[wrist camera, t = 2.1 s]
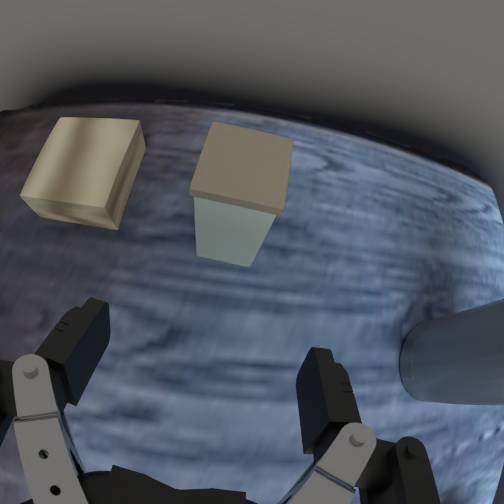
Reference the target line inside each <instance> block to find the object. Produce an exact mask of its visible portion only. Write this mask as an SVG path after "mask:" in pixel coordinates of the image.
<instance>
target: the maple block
mask: <svg viewBox="0 0 504 504" xmlns="http://www.w3.org/2000/svg"><path fill="white" fill-rule="evenodd" d="M145 150H146V147H145V142H144V137H143V133H142V128H141V123H140V120H126V119H108V118H68V117H63V118H60V119H59V120H58V122H57V124H56V125H55V127H54V129H53V131H52V132H51V134H50V136H49V138H48V139H47V141H46V143H45V145H44V147H43V148H42V150H41V152H40V154H39V156H38V158H37V160H36V162H35V164H34V166H33V168H32V170H31V172H30V174H29V176H28V179H27V181H26V183H25V185H24V187H23V190H22V192H21V194H20V197H21V198H22V199H23V200H24V201H25V202H26V203H27V204H28V205H29V206H30V207H31V208H32V209H33V211H34V212H35V213H36V214H37V215H38V216H39V217H43V218H49V219H55V220H61V221H67V222H73V223H79V224H85V225H90V226H96V227H102V228H108V229H114V230H118V228H119V225H120V222H121V219H122V215H123V212H124V209H125V206H126V203H127V200H128V197H129V194H130V191H131V188H132V185H133V182H134V180H135V177H136V174H137V171H138V169H139V166H140V163H141V161H142V158H143V155H144V153H145Z"/></svg>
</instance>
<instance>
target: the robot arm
mask: <svg viewBox="0 0 504 504" xmlns="http://www.w3.org/2000/svg"><path fill="white" fill-rule="evenodd" d="M109 340H110V317H109V304H108V303H107V302H104V301H101V300H97V299H94V298H89V299H88V300H87V301H86V303H85V304H84V305H83V306H82V308H80V307H77V306H76V307H74V308H73V309H71V310H69V311H67V312H66V313H65V314H64V316H63V317H62V318H61V319H60V321H59V322H58V323H57V324H56V326H55V327H54V329H53V330H52V331H51V332H50V334H49V335H48V336H47V338H46V339H45V340H44V342H43V343H42V344H41V346H40V347H39V348H38V350H37V351H36V352H35V354H34V355H33V354H28V355H24V356H22V357H20V358H19V359H17V360H16V361H15V362H11V361H4V360H0V446H1V444H2V442H3V439H4V437H5V435H6V433H7V431H8V428H9V426H10V424H11V422H12V420H13V418H14V416H17V419H15V420H14V427H15V433H16V438H17V443H18V448H19V453H20V457H21V461H22V465H23V469H24V473H25V476H26V480H27V483H28V487H29V490H30V493H31V496H32V499H30V500H27V501H25V502H23V503H21V504H257V503H255V502H253V501H250V500H247V499H246V492H239V491H230V490H222V489H214V488H210V489H189V490H178V489H175V488H172V487H170V486H168V485H166V484H163V483H161V482H159V481H157V480H155V479H153V478H151V477H149V476H147V475H145V474H142V473H138V472H135V471H132V470H128V469H125V468H122V467H119V466H116V465H113V466H112V469H111V471H93V472H88V473H86V471H85V468H84V466H83V464H82V461H81V459H80V457H79V455H78V452H77V450H76V447H75V444H74V441H73V438H72V435H71V432H70V429H69V426H68V422H67V419H66V415H65V412H64V408H65V406H66V404H67V402H68V403H70V404H72V405H75V406H77V404H78V402H79V400H80V398H81V396H82V394H83V392H84V390H85V388H86V386H87V384H88V382H89V380H90V378H91V376H92V374H93V372H94V370H95V368H96V366H97V365H98V363H99V361H100V359H101V357H102V355H103V353H104V352H105V350H106V348H107V346H108V343H109ZM400 374H401V379H402V382H403V385H404V387H405V389H406V390H407V392H408V393H409V394H410V395H411V396H412V397H413V398H415V399H417V400H420V401H426V402H438V403H449V404H467V405H504V299H501V300H498V301H495V302H491V303H488V304H485V305H482V306H479V307H475V308H472V309H469V310H465V311H462V312H458V313H455V314H451V315H447V316H443V317H439V318H436V319H432V320H428V321H424V322H422V323H420V324H418V325H417V326H416V327H414V328H413V330H412V331H411V332H410V333H409V335H408V336H407V338H406V340H405V342H404V345H403V348H402V351H401V356H400ZM296 391H297V400H298V408H299V417H300V426H301V435H302V444H303V454H313V455H314V461H313V462H312V463H311V464H310V466H309V467H308V468H307V470H306V471H305V472H304V473H303V475H302V476H301V477H300V478H299V480H298V481H297V482H296V483H295V484H294V486H293V487H292V488H291V489H290V490H289V492H288V493H287V494H286V495H285V496H284V497H283V498H282V499H281V500H280V501H279V502H278V503H277V504H349V503H350V501H351V500H352V498H353V496H354V494H355V491H356V490H355V489H353V488H354V486H355V487H359V494H360V502H361V504H440V499H439V495H438V491H437V487H436V484H435V480H434V476H433V473H432V469H431V465H430V462H429V459H428V455H427V452H426V449H425V447H424V445H423V444H422V443H421V442H420V441H419V440H418V439H416V438H414V437H408V436H407V437H403V438H401V439H400V440H399V441H398V442H397V443H393V442H388V441H384V440H381V439H377V438H376V437H375V434H374V433H373V431H372V430H371V429H370V428H369V427H367V426H366V425H363V424H362V422H361V418H360V415H359V411H358V407H357V404H356V400H355V397H354V393H353V390H352V386H351V385H350V380H349V376H348V373H347V372H346V370H345V369H344V368H343V366H342V365H341V364H340V363H335V362H334V358H333V355H332V351H331V350H330V349H323V348H316V347H311V348H310V350H309V352H308V354H307V356H306V358H305V360H304V362H303V364H302V366H301V368H300V370H299V372H298V375H297V379H296Z"/></svg>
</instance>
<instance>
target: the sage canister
mask: <svg viewBox="0 0 504 504" xmlns="http://www.w3.org/2000/svg"><path fill="white" fill-rule="evenodd" d="M293 142H294V140H293V139H289V138H286V137H282V136H278V135H274V134H270V133H265V132H261V131H257V130H253V129H248V128H244V127H239V126H234V125H229V124H224V123H219V122H214V121H213V122H212V124H211V127H210V130H209V133H208V135H207V138H206V141H205V144H204V146H203V149H202V152H201V155H200V158H199V161H198V164H197V167H196V170H195V172H194V175H193V178H192V182H191V185H190V188H189V195H190V196H192V197H194V212H195V233H196V251H197V256H199V257H204V258H208V259H213V260H217V261H222V262H227V263H231V264H236V265H240V266H245V267H250V266H251V264H252V262H253V260H254V258H255V256H256V254H257V253H258V251H259V249H260V247H261V245H262V243H263V241H264V239H265V237H266V235H267V233H268V231H269V229H270V227H271V225H272V223H273V221H274V219H275V217H276V215H278V216H281V215H282V213H283V211H284V206H285V200H286V193H287V186H288V178H289V171H290V164H291V157H292V149H293Z"/></svg>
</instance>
